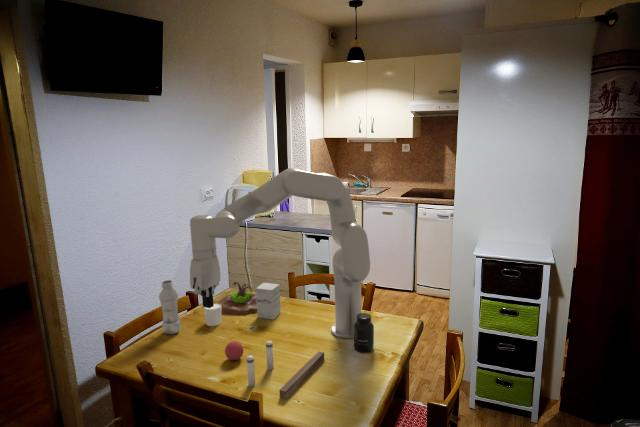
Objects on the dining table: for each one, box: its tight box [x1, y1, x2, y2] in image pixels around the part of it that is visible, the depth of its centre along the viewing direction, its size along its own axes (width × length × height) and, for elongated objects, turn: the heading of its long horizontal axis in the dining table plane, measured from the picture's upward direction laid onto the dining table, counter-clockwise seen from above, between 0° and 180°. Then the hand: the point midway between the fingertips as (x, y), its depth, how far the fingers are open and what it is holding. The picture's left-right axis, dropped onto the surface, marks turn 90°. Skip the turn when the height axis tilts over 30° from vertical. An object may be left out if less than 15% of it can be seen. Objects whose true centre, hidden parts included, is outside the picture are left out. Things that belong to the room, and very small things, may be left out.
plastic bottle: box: [158, 279, 182, 335], centre depth 165 cm, size 6×7×20 cm
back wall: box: [278, 350, 325, 400], centre depth 134 cm, size 2×24×2 cm, turn 153°
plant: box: [217, 281, 257, 316], centre depth 190 cm, size 20×20×11 cm
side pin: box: [246, 354, 256, 388], centre depth 130 cm, size 2×2×9 cm
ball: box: [224, 340, 245, 361], centre depth 146 cm, size 6×6×6 cm
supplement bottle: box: [353, 312, 375, 354], centre depth 150 cm, size 7×7×12 cm
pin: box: [265, 340, 275, 371], centre depth 139 cm, size 2×2×9 cm
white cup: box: [203, 302, 222, 327], centre depth 174 cm, size 7×7×7 cm
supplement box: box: [255, 282, 281, 321], centre depth 179 cm, size 7×7×13 cm
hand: (208, 306), depth 147 cm, fingers closed
